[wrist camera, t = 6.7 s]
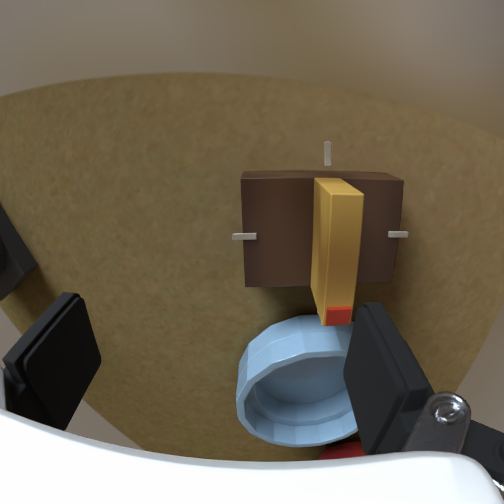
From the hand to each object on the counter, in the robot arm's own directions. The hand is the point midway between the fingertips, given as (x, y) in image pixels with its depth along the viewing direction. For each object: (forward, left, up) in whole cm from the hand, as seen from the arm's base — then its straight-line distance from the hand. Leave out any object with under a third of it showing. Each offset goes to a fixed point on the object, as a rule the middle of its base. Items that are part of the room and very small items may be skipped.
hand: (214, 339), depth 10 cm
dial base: (+5, 0, -13) cm, 14 cm away
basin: (+6, -14, -13) cm, 19 cm away
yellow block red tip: (+5, 0, -10) cm, 11 cm away
